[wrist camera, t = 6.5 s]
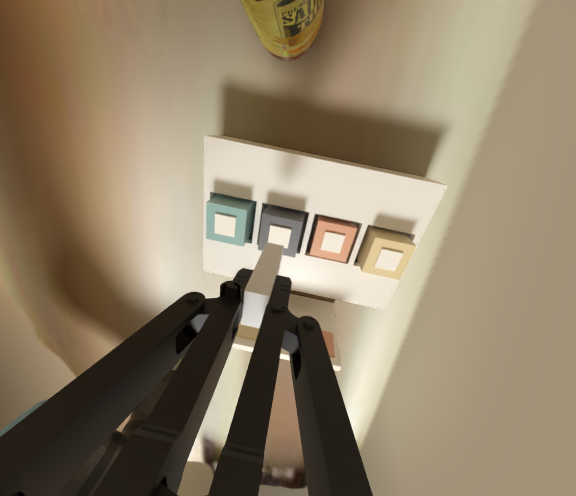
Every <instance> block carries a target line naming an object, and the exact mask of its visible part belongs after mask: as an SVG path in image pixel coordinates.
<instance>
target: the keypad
mask: <svg viewBox="0 0 576 496" xmlns="http://www.w3.org/2000/svg"><path fill="white" fill-rule="evenodd" d="M446 188H447V185H445V184H442V183H439V182H437V181H434V180H431V179H429V178H426V177H422V176H417V175H412V174H407V173H402V172H398V171H393V170H388V169H383V168H378V167H373V166H369V165H364V164H359V163H354V162H349V161H344V160H339V159H335V158H330V157H325V156H320V155H315V154H310V153H306V152H301V151H296V150H291V149H286V148H281V147H277V146H272V145H267V144H262V143H257V142H252V141H247V140H243V139H238V138H233V137H228V136H223V135H204V226H203V271H206V272H211V273H215V274H220V275H225V276H229V277H235V275H236V274H237V272H238V271H239V270H240V269H242V268H246V269H250V270H254V269H255V266H256V264H257V262H258V260H259V258H260V256H261V253H262V251H261V250H258V243H259V235H260V228H261V220H262V213H263V212H264V211H265V209H266V208H267V206H268V205H269V204H271V205H276V206H281V207H286V208H291V209H295V210H300V211H305V212H304V220H303V225H302V229H301V234H300V238H299V243H298V247H297V251H296V256H295V258H294V257H289V256H285V255H282V260H281V265H280V270H279V274H278V275H280V276H285V277H289V278H290V279H291V281H292V285H291V290H294V291H299V292H304V293H308V294H313V295H318V296H322V297H327V298H332V299H336V300H341V301H345V302H350V303H355V304H359V305H364V306H369V307H373V308H378V309H383V310H385V309H386V307H387V305H388V303H389V301H390V299H391V297H392V295H393V293H394V291H395V289H396V287H397V285H398V283H399V281H400V280H397V279H393V278H388V277H383V276H379V275H374V274H369V273H365V272H361V269H360V266H359V263H358V260H357V257H356V256H357V253H358V250H359V248H360V245H361V242H362V240H363V237H364V234H365V232H366V229H367V226H368V225H371V226H376V227H381V228H386V229H390V230H395V231H400V232H404V233H405V234H406V235H407V236H408V237H409V238H410V239H411V241H412V242H413V243H414V244H415V245H416V246H418V244H419V242H420V240H421V238H422V236H423V234H424V232H425V230H426V228H427V226H428V224H429V222H430V220H431V218H432V216H433V214H434V212H435V210H436V208H437V206H438V204H439V202H440V200H441V198H442V196H443V194H444V192H445V190H446ZM219 194H224V195H229V196H233V197H238V198H243V199H248V200H252V201H256V206H255V215H254V223H253V232H252V234H251V236H250V237H249V239H248V240H247V242H246V243H245V245H244V246H238V245H233V244H228V243H224V242H219V241H214V240H210V239H206V202H207V201H209V200H210V199H212V198H214V197H215V196H217V195H219ZM317 214H319V215H324V216H329V217H333V218H338V219H343V220H348V221H352V222H354V223H355V225H356V227H357V231H356V234H355V237H354V240H353V242H352V245H351V248H350V251H349V254H348V257H347V259H346V262H343V261H338V260H333V259H329V258H324V257H319V256H315V255H310V239H311V235H312V231H313V228H314V224H315V220H316V216H317ZM416 248H417V247H416ZM415 250H416V249H415ZM414 252H415V251H414ZM413 254H414V253H413ZM413 254H412V255H413ZM411 257H412V256H411ZM410 259H411V258H410ZM409 261H410V260H409ZM408 263H409V262H408ZM407 265H408V264H407ZM406 267H407V266H406ZM405 269H406V268H405ZM404 271H405V270H404ZM403 273H404V272H403ZM402 275H403V274H402ZM401 277H402V276H401ZM400 279H401V278H400Z"/></svg>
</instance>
